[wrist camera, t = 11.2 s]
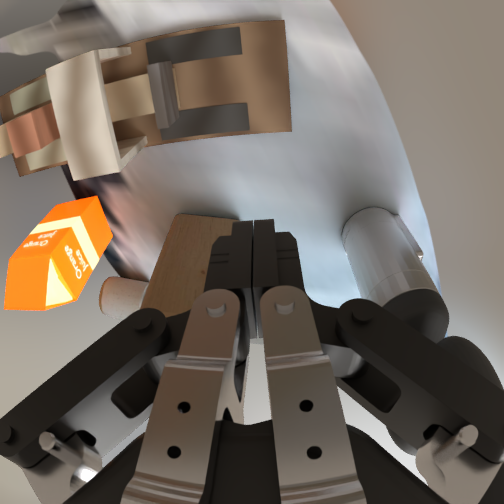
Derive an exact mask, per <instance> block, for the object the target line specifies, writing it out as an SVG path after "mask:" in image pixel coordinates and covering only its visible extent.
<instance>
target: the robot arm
mask: <svg viewBox="0 0 504 504" xmlns="http://www.w3.org/2000/svg"><path fill="white" fill-rule="evenodd" d="M342 242H343V245H344V248H345V251H346V254H347V256H348V259H349V262H350V265H351V268H352V271H353V274H354V277H355V279H356V282H357V285H358V288H359V291H360V295H361V298H362V299H361V298H357V299H352V300H349V301H346V302H345V303H343V304H342V305H341V306H340V308H334V307H328V306H324V305H321V304H318V303H316V302H314V301H313V300H312V299H311V298H309V297H308V295H307V294H306V292H305V289H304V283H303V277H302V271H301V265H300V259H299V253H298V247H297V241H296V239H295V238H294V237H293V235H292V234H291V233H290V232H275V228H274V219H266V220H254V226H253V220H252V221H237V222H233V224H232V232H231V235H229V236H219V237H218V239H217V240H216V241H215V242H214V243H213V245H212V249H211V254H210V259H209V264H208V269H207V275H206V280H205V286H204V291H203V293H202V294H201V295H200V296H198V297H197V298H196V299H195V301H194V303H193V305H192V308H191V309H190V310H188V311H186V312H183V313H180V314H177V315H173V316H170V317H165V315H164V314H163V313H162V312H161V311H160V310H158V309H155V308H143V309H140V310H137V311H135V312H133V313H132V314H130V315H129V316H128V317H127V318H125V319H124V320H123V321H121V322H120V323H119V324H117V325H116V326H115V327H114V328H112V329H111V330H110V331H109V332H107V333H106V334H105V335H103V336H102V337H101V338H100V339H98V340H97V341H96V342H94V343H93V344H92V345H91V346H89V347H88V348H87V349H86V350H84V351H83V352H82V353H81V354H80V355H78V356H77V357H76V358H74V359H73V360H72V361H71V362H69V363H68V364H67V365H66V366H64V367H63V368H62V369H61V370H59V371H58V372H57V373H56V374H54V375H53V376H52V377H51V378H49V379H48V380H47V381H46V382H44V383H43V384H42V385H41V386H39V387H38V388H37V389H36V390H35V391H33V392H32V393H31V394H30V395H29V396H27V397H26V398H25V399H24V400H22V402H20V403H19V404H18V405H16V406H15V407H14V408H13V409H12V410H10V411H9V412H8V413H7V414H6V415H5V416H3V417H2V418H1V419H0V455H2V456H3V457H5V458H7V459H8V460H10V461H12V462H14V463H16V464H17V465H18V466H19V467H20V468H21V469H22V470H23V472H24V474H25V476H26V477H27V479H28V481H29V483H30V485H31V487H32V488H33V490H34V492H35V494H36V495H37V497H38V499H39V500H40V502H41V504H504V389H503V387H502V384H501V382H500V380H499V378H498V376H497V374H496V372H495V370H494V368H493V366H492V365H491V363H490V361H489V360H488V359H487V357H486V356H485V355H484V354H483V352H482V351H481V350H480V349H479V348H478V347H477V346H476V345H474V344H473V343H472V342H470V341H469V340H467V339H465V338H462V337H458V336H450V337H446V338H444V337H445V334H446V331H447V328H448V324H449V313H448V310H447V307H446V305H445V303H444V301H443V299H442V297H441V296H440V294H439V292H438V290H437V288H436V286H435V284H434V283H433V281H432V279H431V277H430V275H429V274H428V272H427V270H426V268H425V267H424V265H423V263H422V258H423V251H422V250H421V248H420V247H419V245H418V243H417V242H416V240H415V239H414V237H413V236H412V234H411V233H410V231H409V230H408V228H407V227H406V225H405V224H404V222H403V221H402V219H401V218H400V216H399V215H392V214H391V213H390V212H389V211H387V210H385V209H383V208H378V207H372V208H367V209H363V210H361V211H359V212H357V213H356V214H354V215H353V216H352V217H351V218H350V219H349V220H348V221H347V223H346V224H345V226H344V228H343V232H342ZM257 326H258V335H259V338H263V342H264V352H265V362H266V371H267V380H268V390H269V399H270V408H271V418H272V419H271V420H268V421H264V422H260V423H256V424H252V425H244V416H243V406H244V397H245V389H246V380H247V372H248V363H249V355H248V354H249V347H250V346H249V345H250V339H253V338H257ZM337 386H338V387H339V388H341V389H342V390H343V391H345V392H346V393H347V394H348V395H349V396H350V397H352V398H353V399H354V400H355V401H356V402H358V403H359V404H360V405H361V406H362V407H364V408H365V409H366V410H367V411H369V412H370V413H371V414H372V415H374V416H375V417H376V418H377V419H378V420H380V421H381V422H382V423H383V424H385V425H386V428H387V430H388V432H389V434H390V436H391V438H392V439H393V441H394V442H395V444H396V445H397V446H398V447H399V448H400V449H402V450H403V451H404V452H406V453H408V454H411V455H414V456H416V467H417V469H418V471H419V473H420V474H421V475H422V476H423V477H424V478H425V479H426V481H427V484H428V486H427V485H426V484H425V483H424V482H422V481H421V480H420V479H419V478H418V477H416V476H415V475H414V474H413V473H412V472H410V471H409V470H408V469H407V468H406V467H405V466H403V465H402V464H401V463H400V462H399V461H397V460H396V459H395V458H394V457H393V456H392V455H391V454H389V453H388V452H387V451H386V450H385V449H384V448H383V447H381V446H380V445H379V444H378V443H377V442H376V441H375V440H374V439H372V438H371V437H370V436H369V435H367V434H366V433H364V432H363V431H361V430H359V429H357V428H355V427H353V426H351V425H348V424H346V422H345V418H344V414H343V409H342V405H341V401H340V397H339V393H338V389H337ZM148 418H149V421H148V424H147V428H146V432H144V433H143V434H141V435H140V436H138V437H137V438H136V439H135V440H133V441H132V442H131V443H130V444H129V445H128V446H127V447H126V448H125V449H124V450H123V451H122V452H120V453H119V454H118V455H117V456H116V457H115V458H114V459H113V460H112V461H111V462H109V463H108V464H107V465H106V466H105V467H104V468H103V467H102V459H101V458H102V457H103V456H105V455H106V454H107V453H108V452H110V451H111V450H112V449H113V448H114V447H116V446H117V445H118V444H119V443H120V442H121V441H122V440H124V439H125V438H126V437H127V436H128V435H130V434H131V433H132V432H133V431H134V430H135V429H137V428H138V427H139V426H140V425H141V424H142V423H143V422H144V421H146V420H147V419H148Z"/></svg>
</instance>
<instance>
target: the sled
mask: <svg viewBox="0 0 504 504" xmlns="http://www.w3.org/2000/svg"><path fill="white" fill-rule="evenodd" d="M147 70H148V74H143V75H139V76H135V77H131V78H127V79H123V80H119V81H116V82H112V83H109V84H105V85H104V86H105V91H106V96H107V101H108V106H109V111H110V116H111V120H112V122H115V121H119V120H124V119H128V118H133V117H137V116H142V115H147V114H152V113H155V117H156V122H157V127H158V129H163V128H169V127H170V126H171V125H172V124H173V123H174V122H175V121H176V120H177V119H178V118H179V117H180V115H179V108H180V101H179V95H178V88H177V81H176V75H175V68H172V62H171V61H165V62H160V63H155V64H151V65H147ZM59 137H60V133H59V129H58V126H57V122H56V118H55V113H54V109H53V105H52V103H50V104H47V105H45V106H42V107H40V108H37V109H35V110H33V111H30V112H28V113H26V114H24V115H21V116H19V117H17V118H15V119H13V120H10V121H8V122H6V123H4V124H2V125H0V158H2V157H4V156H7V155H9V154H12V153H14V155H15V158H17V157H20V156H23V155H26V154H29V153H32V152H34V151H37V150H40V149H42V148H44V147H45V146H47V145H48V144H50V143H51V142H53V141H54V140H56V139H58V138H59Z"/></svg>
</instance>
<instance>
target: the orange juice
mask: <svg viewBox="0 0 504 504" xmlns="http://www.w3.org/2000/svg"><path fill="white" fill-rule="evenodd" d="M112 237H113V235H112V233H111V230H110V228H109V225H108V223H107V220H106V218H105V215H104V213H103V210H102V207H101V205H100V202H99V199H98V197H97V196H94V197H89V198H85V199H80V200H75V201H71V202H67V203H63V204H58V205H56V206H55V207H54V208H53V209H52V210H51V211H50V213H48V214H47V216H46V217H45V218H44V219H43V220H42V221H41V222H40V223H39V224H38V225H37V226H36V227H35V229H34V230H33V231H32V232H31V233H30V235H29V236H28V237H27V238H26V239H25V241H24V242H23V243H22V244H21V245H20V247H19V248H18V249H17V250H16V252H15V253H14V254H13V255H12V257H11V258H10V259H9V267H8V274H7V282H6V292H5V304H4V309H8V310H47V309H51V308H54V307H57V306H60V305H63V304H66V303H70V302H73V301H76V300H77V298H78V296H79V295H80V293H81V291H82V289H83V287H84V285H85V283H86V282H87V280H88V278H89V276H90V274H91V273H92V271H93V270H94V268H95V266H96V264H97V263H98V261H99V258H100V257H101V255H102V253H103V252H104V250H105V248H106V247H107V245H108V243H109V242H110V240H111V238H112Z"/></svg>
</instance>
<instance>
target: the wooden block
mask: <svg viewBox="0 0 504 504" xmlns="http://www.w3.org/2000/svg"><path fill="white" fill-rule="evenodd" d="M237 221H239V220H235V219H226V218H217V217H208V216H199V215H189V214H178V215H176V216H175V218H174V221H173V223H172V225H171V228H170V230H169V233H168V235H167V238H166V240H165V243H164V245H163V248H162V250H161V253H160V255H159V258H158V261H157V263H156V266H155V268H154V271H153V274H152V276H151V279H150V282H149V285H148V287H147V290H146V293H145V296H144V298H143V301H142V304H141V307H140V309H143V308H155V309H158V310H160V311H161V312H162V313H163V314H164V315H165V317H170V316H173V315H177V314H180V313H183V312H186V311H188V310H190V309H191V308H192V305H193V303H194V301H195V299H196V298H197V297H198V296H200V295H201V294H202V293H203V291H204V286H205V280H206V275H207V269H208V264H209V259H210V254H211V249H212V245H213V243H214V242H215V241H216V240H217V239H218V237H219V236H229V235H231V232H232V224H233V222H237Z"/></svg>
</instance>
